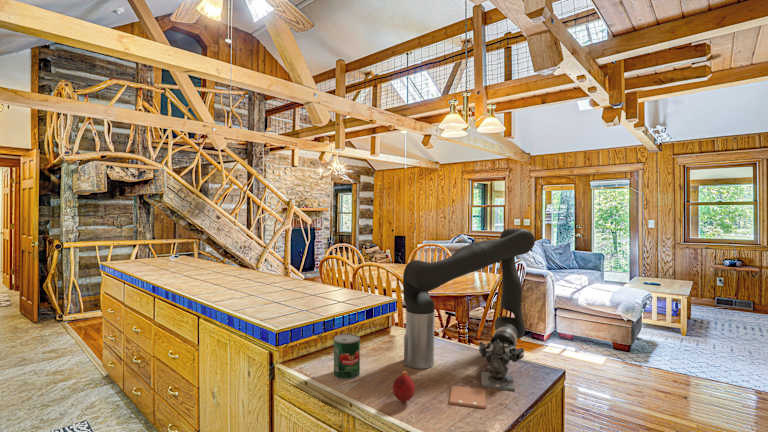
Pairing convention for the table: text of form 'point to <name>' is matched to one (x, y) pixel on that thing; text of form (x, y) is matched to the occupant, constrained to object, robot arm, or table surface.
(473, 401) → the tile two
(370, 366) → the table surface
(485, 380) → the tile one
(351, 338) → the canned tomato
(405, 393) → the onion
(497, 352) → the salt shaker
